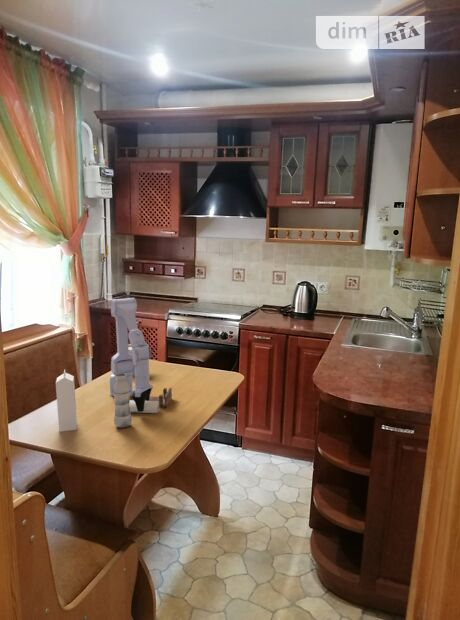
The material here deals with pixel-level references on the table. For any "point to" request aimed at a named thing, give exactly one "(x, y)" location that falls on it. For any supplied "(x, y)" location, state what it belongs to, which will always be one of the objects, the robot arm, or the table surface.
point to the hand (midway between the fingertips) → (143, 407)
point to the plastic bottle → (122, 402)
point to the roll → (145, 407)
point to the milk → (66, 402)
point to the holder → (160, 398)
